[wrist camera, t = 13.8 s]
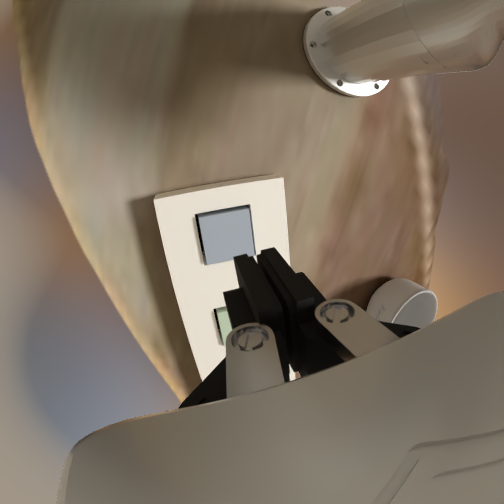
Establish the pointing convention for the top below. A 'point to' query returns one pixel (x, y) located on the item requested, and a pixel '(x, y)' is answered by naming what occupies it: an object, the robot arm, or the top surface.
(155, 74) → the top surface
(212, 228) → the slate button
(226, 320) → the sage button
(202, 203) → the button panel
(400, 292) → the teacup
